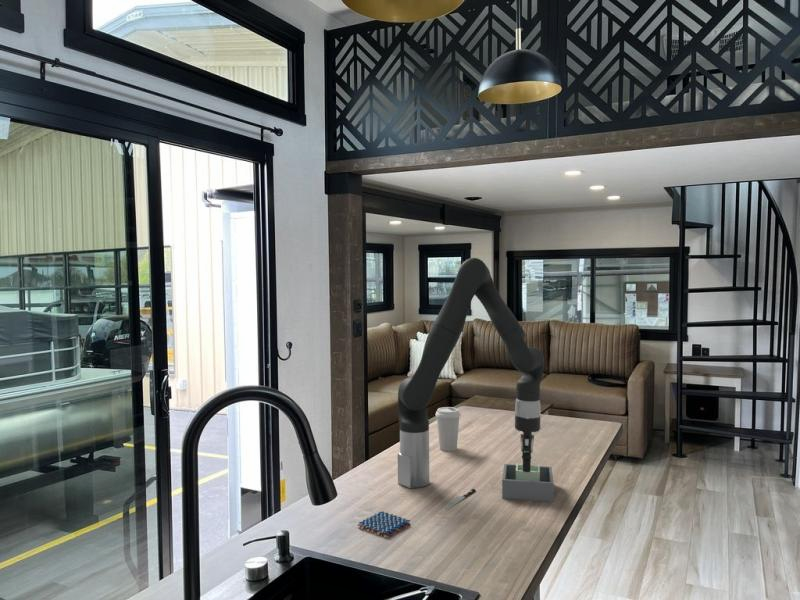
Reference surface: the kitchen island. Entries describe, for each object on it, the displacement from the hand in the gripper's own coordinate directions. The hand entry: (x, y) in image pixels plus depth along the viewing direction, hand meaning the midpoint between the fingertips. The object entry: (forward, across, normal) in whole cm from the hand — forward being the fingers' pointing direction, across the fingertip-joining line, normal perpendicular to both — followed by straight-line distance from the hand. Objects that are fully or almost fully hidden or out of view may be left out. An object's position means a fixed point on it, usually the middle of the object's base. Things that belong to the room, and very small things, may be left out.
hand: (526, 467), depth 175 cm
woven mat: (+9, +32, -36) cm, 49 cm away
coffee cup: (+8, -38, -30) cm, 49 cm away
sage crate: (+7, -1, 0) cm, 7 cm away
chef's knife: (+9, +11, -20) cm, 24 cm away
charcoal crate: (+8, -1, 0) cm, 8 cm away
